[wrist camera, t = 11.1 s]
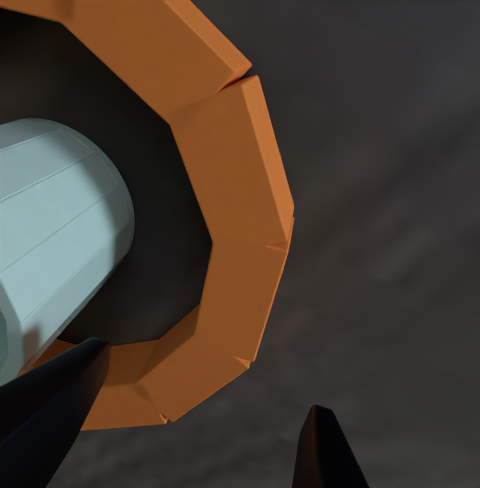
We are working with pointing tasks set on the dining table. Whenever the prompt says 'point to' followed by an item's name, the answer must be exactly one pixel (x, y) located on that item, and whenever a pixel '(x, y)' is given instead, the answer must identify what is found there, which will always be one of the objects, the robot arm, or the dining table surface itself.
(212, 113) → the ring
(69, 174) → the cup
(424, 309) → the dining table surface
